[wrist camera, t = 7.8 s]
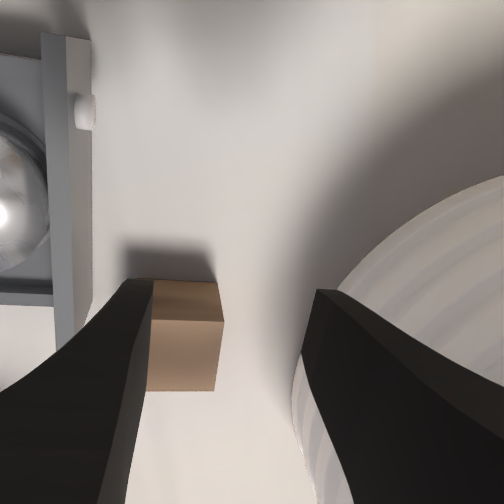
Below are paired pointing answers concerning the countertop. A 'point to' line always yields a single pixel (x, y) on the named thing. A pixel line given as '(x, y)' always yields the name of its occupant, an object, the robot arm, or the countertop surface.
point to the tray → (55, 176)
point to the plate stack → (423, 306)
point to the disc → (21, 196)
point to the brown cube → (184, 336)
